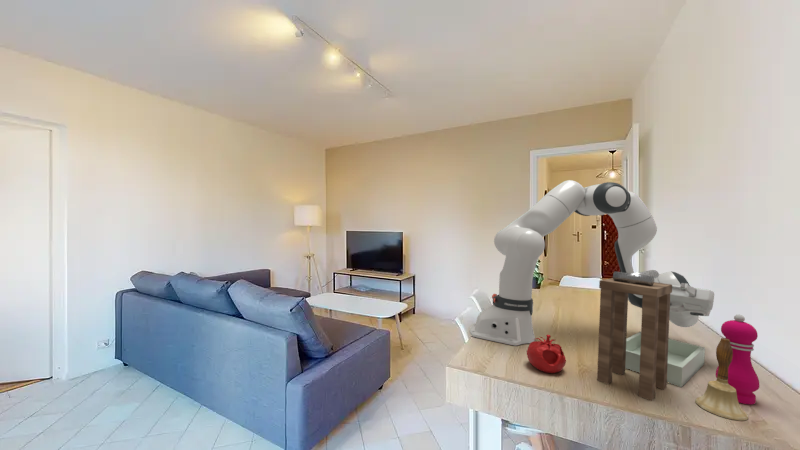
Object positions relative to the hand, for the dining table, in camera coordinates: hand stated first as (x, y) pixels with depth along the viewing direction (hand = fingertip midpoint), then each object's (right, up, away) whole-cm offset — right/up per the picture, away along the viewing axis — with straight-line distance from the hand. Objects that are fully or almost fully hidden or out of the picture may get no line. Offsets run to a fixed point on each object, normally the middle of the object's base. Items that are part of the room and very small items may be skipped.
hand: (663, 282), depth 95 cm
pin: (-14, +3, -11) cm, 18 cm away
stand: (-20, -23, -14) cm, 33 cm away
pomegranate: (-38, -23, -6) cm, 45 cm away
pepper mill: (+2, -24, -19) cm, 31 cm away
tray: (-2, -24, -1) cm, 24 cm away
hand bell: (-7, -24, -24) cm, 35 cm away
